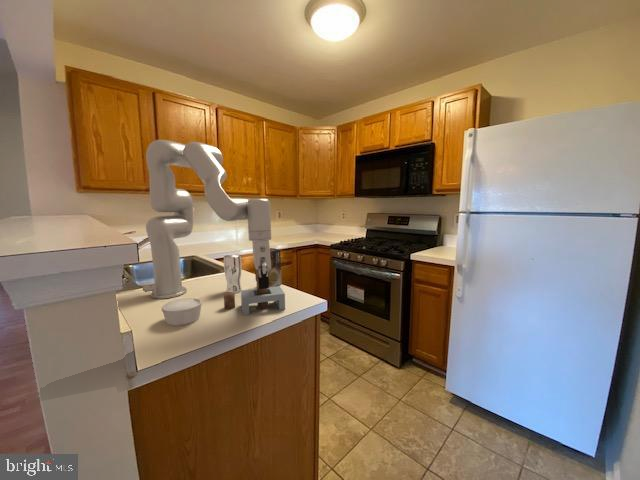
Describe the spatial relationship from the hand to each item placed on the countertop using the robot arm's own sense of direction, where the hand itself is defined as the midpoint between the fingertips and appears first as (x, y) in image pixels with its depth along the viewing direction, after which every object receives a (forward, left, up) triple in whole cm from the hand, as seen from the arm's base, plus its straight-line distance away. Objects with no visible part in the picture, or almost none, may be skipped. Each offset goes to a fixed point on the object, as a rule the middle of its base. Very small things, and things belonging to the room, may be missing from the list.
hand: (262, 284), depth 93 cm
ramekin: (-25, -1, -9) cm, 27 cm away
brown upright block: (-11, +4, -8) cm, 14 cm away
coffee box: (+6, +24, -8) cm, 26 cm away
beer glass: (-9, +22, -8) cm, 25 cm away
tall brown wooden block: (0, 0, -8) cm, 8 cm away
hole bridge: (0, 0, -8) cm, 8 cm away
